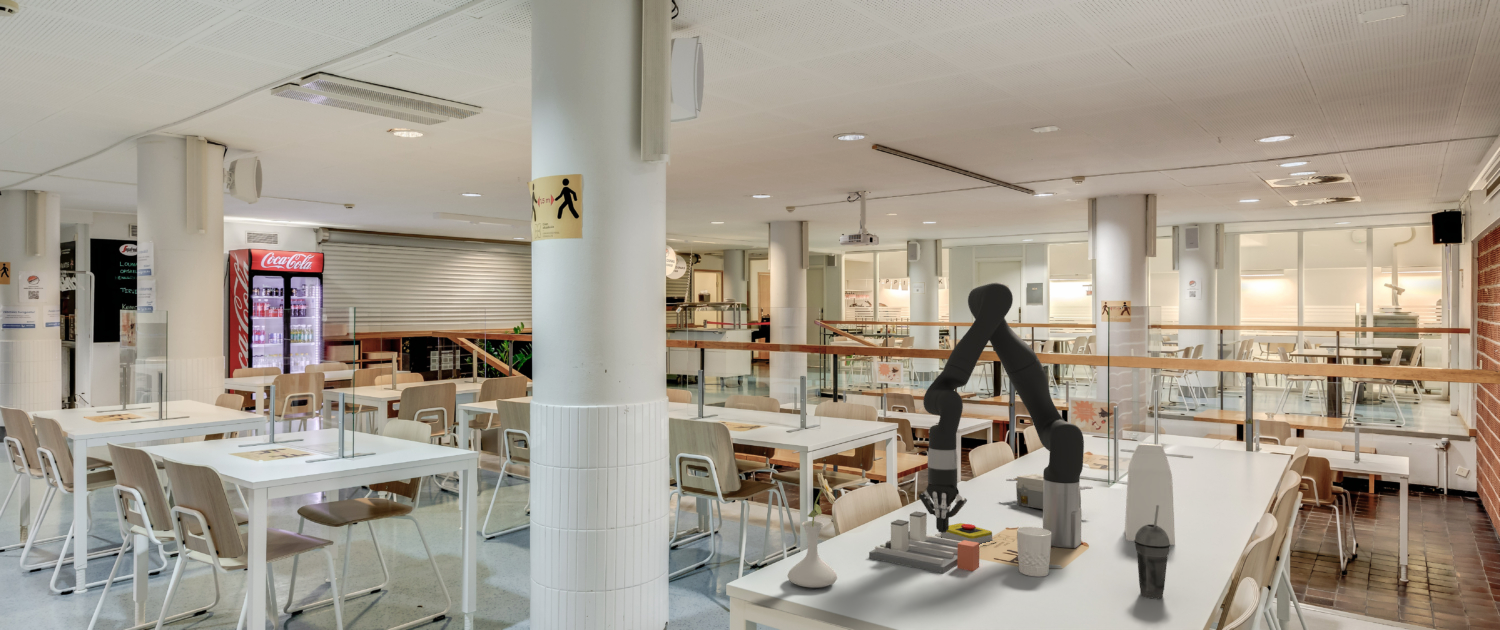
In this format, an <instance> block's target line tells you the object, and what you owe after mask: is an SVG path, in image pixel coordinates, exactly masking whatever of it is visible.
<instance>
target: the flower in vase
mask: <svg viewBox="0 0 1500 630" xmlns="http://www.w3.org/2000/svg"><path fill="white" fill-rule="evenodd" d="M817 480H818V482H819V485H820V487H821V489H820V491H819V492H818V495H817V497H816V500H815V501H814V505H813V510H811V511H810V513H809V514H808V515H807V517H808V518H812V520H806V521H803V522H802V523H801V525H802V527H803V528H804V530H805V533H806V538H807V552H806V555H805V557H804V558H803V559H801V560H800V561H799V562H797V563H796V564H795V565H794V566H792V567H791V569H790V570H789V571H788V573H787V579H788V580H789V581H790V582H791V583H792V584H795V585H796V586H800V587H802V588H803V587H804V588H812V589H813V588H814V589H815V588H824V587H828V586H831V585H833V584H834V583H836V581H837V580H838V576H837V572H836V571H835V570H834V569H833V568H832V567H831V566H830V565H829V564H827V563H826V562H825V561H824V560H823V559H822V558H821V557H820V555H819V553H818V542H819V535H820V532H821V530H822V528H823V526H824V525H825V524H824V522H821V521H817V520H815V517H817V516H821V515H822V512H823V511H822V509H821V506H820V505H819V504H817V502H818V500H819V498H820V496H821V494H822V493H823V494H824V496H825V498H826V499H827V501H828V503H830V504H831V505H835V504H836V502H835V501H836V498H835V496H834V495H833V489H832V488H831V487H830V485H829V483H828V480H827V478H824V476H823V473H822V472H821V473H819V472H818V473H817Z"/></svg>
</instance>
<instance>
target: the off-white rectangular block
mask: <svg viewBox="0 0 1500 630" xmlns="http://www.w3.org/2000/svg"><path fill="white" fill-rule="evenodd" d="M927 516H928V514H927V512H923V511H918V510H917V511H916V510H915V511H914V512H912V513H909V531H910V535H909V539H910V540H915V541H921V542H925V541H926V535H927Z"/></svg>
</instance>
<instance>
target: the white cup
mask: <svg viewBox="0 0 1500 630" xmlns="http://www.w3.org/2000/svg"><path fill="white" fill-rule="evenodd" d="M1016 542H1017V543H1016V546H1017V560H1018V571H1019V572H1020V574H1022V575H1025V576H1029V577H1036V578H1037V577H1038V578H1039V577H1040V578H1041V577H1046V576H1048V575H1049V573H1050V562H1051V561H1050V559H1051V557H1050V556H1051V549H1052V548H1051V547H1052V546H1051V532H1050V531H1049V530H1046V529H1043V527H1034V526H1023V527H1018V528H1017V529H1016Z"/></svg>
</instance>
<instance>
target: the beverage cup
mask: <svg viewBox="0 0 1500 630" xmlns="http://www.w3.org/2000/svg"><path fill="white" fill-rule="evenodd" d="M1158 510H1159V505H1156V513H1155V521H1154V525H1145V526H1143V527H1141V528H1140V529H1139V530H1138V531H1137V533H1136V536H1135V540H1134V541H1133V542H1134V547H1135V551H1136V557H1137V570H1138V571H1137V572H1138V583H1139V584H1138V585H1139V590H1140V595H1141V596H1143V597H1145V598H1147V599H1148V598H1150V599H1156V600H1157V599H1159V600H1160V599H1162V598H1163V597H1164V590H1165V583H1166V576H1167V575H1166V573H1167V567H1168V566H1167V565H1168V556H1169V553H1170V547H1171V545H1170V542H1169V538H1168V535H1167V534H1166V532H1165V531H1164V530H1163V529H1162V528H1160V527H1159V526H1157V518H1158Z"/></svg>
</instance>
